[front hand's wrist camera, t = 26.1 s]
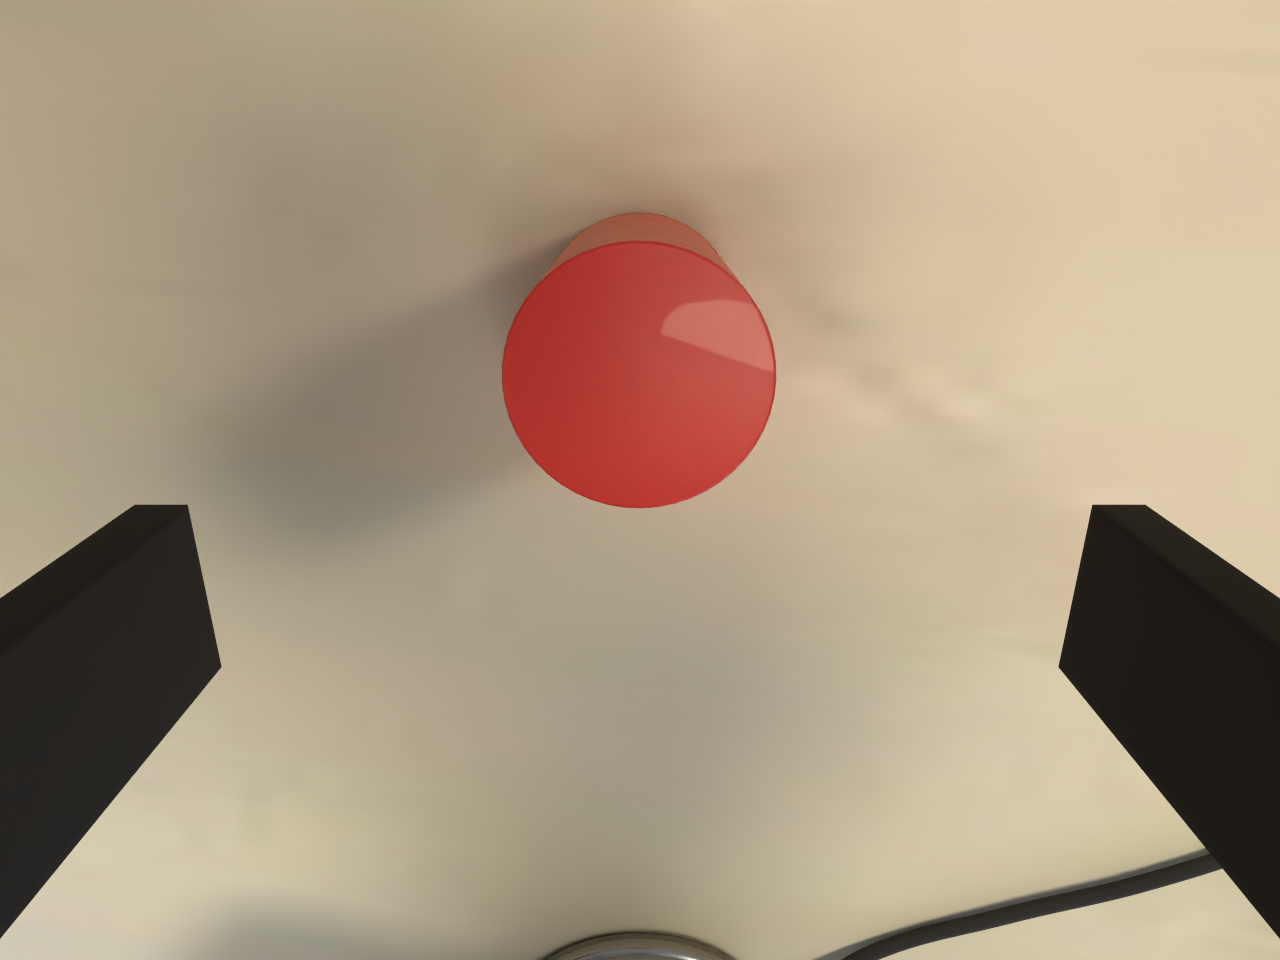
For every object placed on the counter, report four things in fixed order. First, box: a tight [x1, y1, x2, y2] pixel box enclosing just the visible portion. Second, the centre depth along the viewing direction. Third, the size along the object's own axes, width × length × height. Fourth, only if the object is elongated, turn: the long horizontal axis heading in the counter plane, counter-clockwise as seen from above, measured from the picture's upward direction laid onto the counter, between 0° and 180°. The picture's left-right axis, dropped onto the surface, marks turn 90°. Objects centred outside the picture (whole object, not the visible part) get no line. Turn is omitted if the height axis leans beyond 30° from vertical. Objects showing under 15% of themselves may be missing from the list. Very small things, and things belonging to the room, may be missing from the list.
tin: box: [502, 213, 776, 508], centre depth 29 cm, size 8×8×11 cm
